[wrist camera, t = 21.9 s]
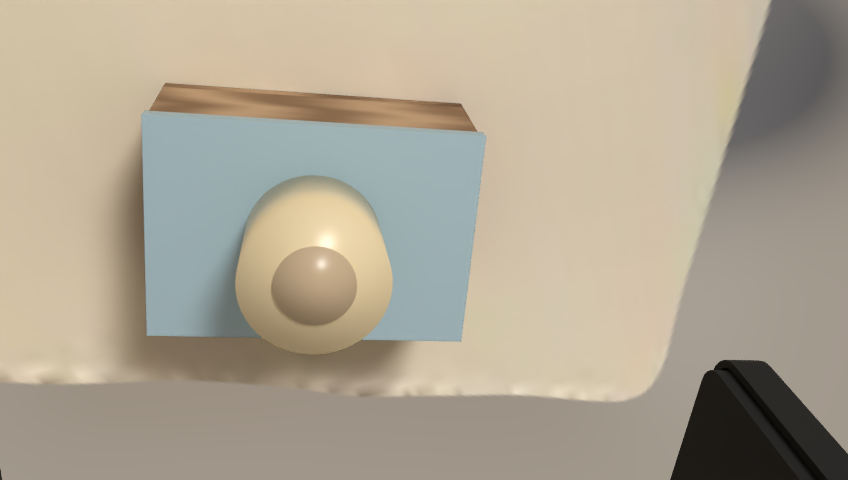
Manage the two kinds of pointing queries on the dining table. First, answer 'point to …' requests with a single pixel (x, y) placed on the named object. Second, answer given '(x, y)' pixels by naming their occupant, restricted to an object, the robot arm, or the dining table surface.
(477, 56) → the dining table surface
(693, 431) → the robot arm
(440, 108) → the crate
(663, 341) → the dining table surface
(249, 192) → the lid
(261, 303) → the cream bottle with knob
